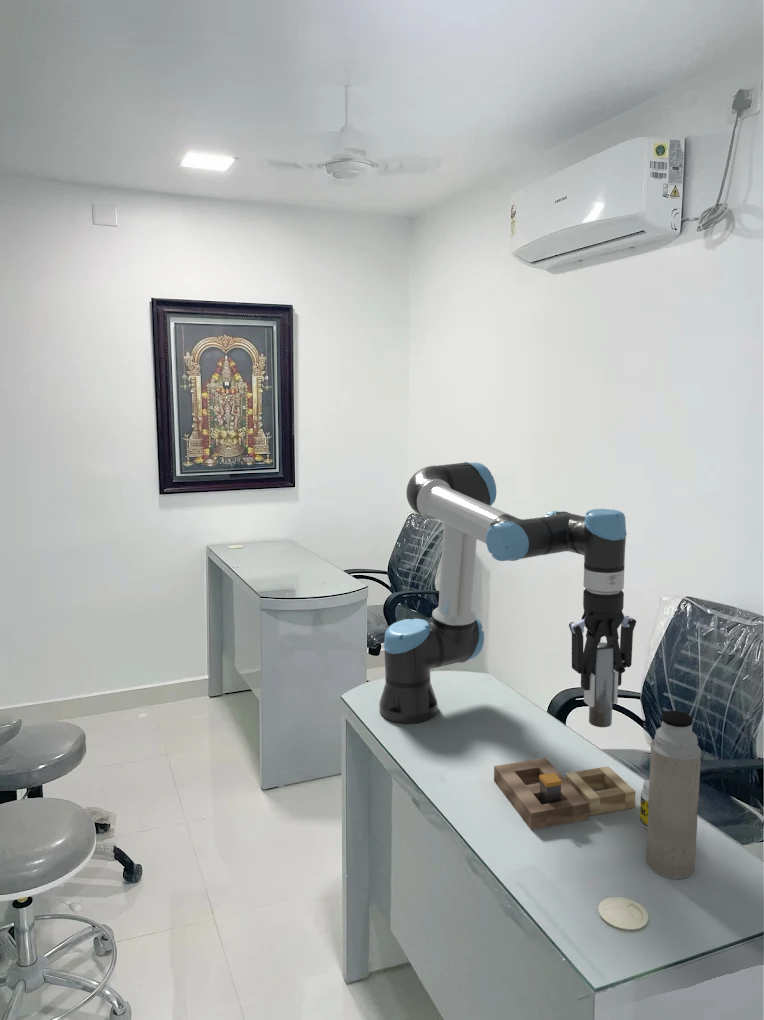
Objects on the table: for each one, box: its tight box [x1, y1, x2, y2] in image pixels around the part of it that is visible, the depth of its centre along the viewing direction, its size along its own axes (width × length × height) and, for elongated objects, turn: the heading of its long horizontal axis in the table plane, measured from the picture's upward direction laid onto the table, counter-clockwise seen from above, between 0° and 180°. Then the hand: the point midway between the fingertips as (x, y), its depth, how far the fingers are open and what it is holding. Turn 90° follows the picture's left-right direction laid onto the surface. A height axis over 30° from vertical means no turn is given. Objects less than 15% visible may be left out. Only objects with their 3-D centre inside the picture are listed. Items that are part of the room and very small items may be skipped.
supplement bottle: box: [639, 778, 650, 830], centre depth 140 cm, size 5×5×8 cm
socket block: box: [493, 757, 589, 831], centre depth 150 cm, size 18×12×4 cm, turn 14°
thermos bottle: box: [645, 710, 702, 880], centre depth 127 cm, size 8×8×28 cm
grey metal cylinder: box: [588, 641, 614, 728], centre depth 146 cm, size 4×4×16 cm
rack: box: [564, 765, 636, 816], centre depth 150 cm, size 10×10×4 cm
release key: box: [539, 773, 562, 805], centre depth 145 cm, size 3×3×7 cm
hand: (600, 702), depth 146 cm, fingers closed on grey metal cylinder, 4 cm apart
